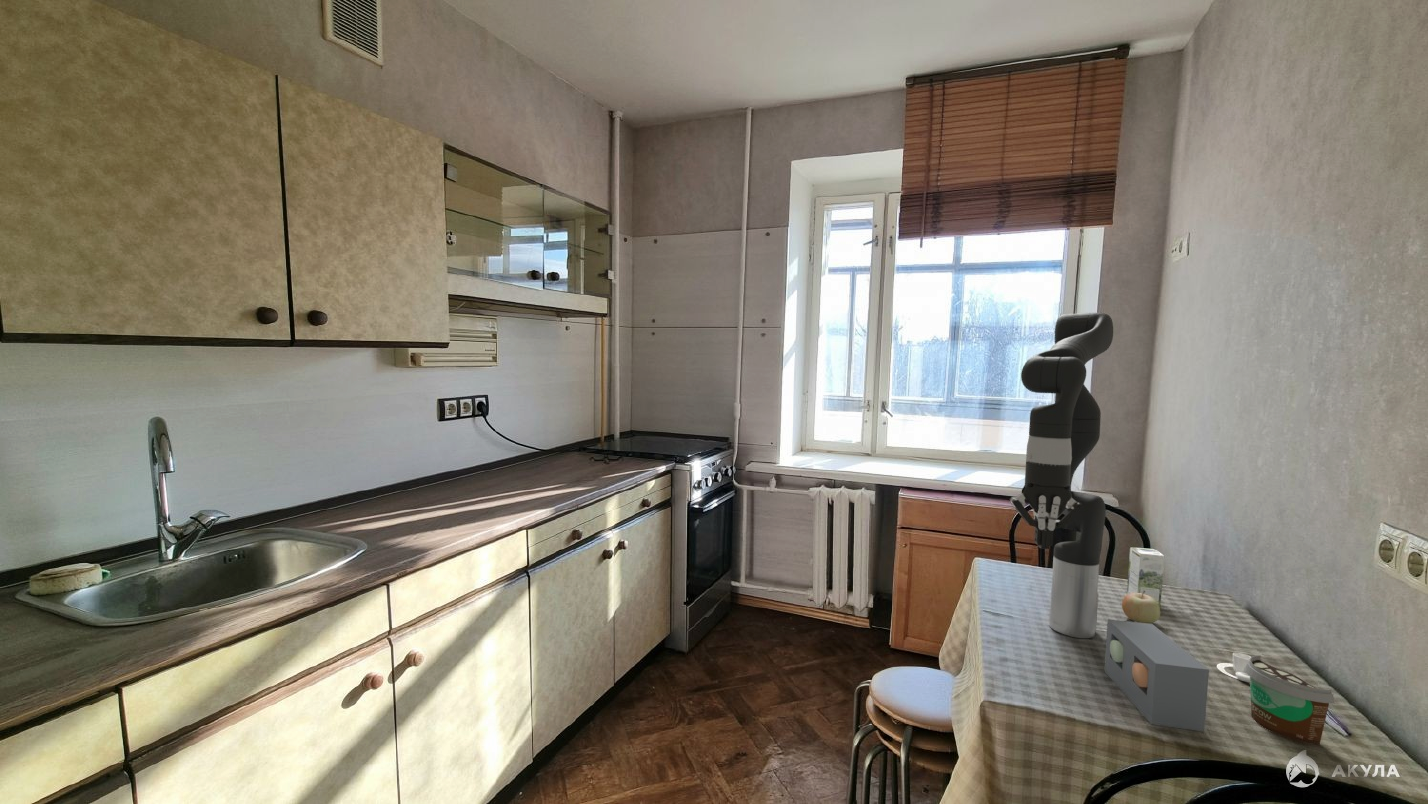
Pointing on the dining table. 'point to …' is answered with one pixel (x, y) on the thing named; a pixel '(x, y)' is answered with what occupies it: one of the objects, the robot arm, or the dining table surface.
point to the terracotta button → (1140, 674)
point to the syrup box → (1146, 572)
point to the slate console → (1159, 676)
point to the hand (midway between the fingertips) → (1043, 547)
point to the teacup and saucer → (1237, 667)
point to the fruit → (1141, 608)
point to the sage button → (1116, 650)
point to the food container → (1287, 702)
